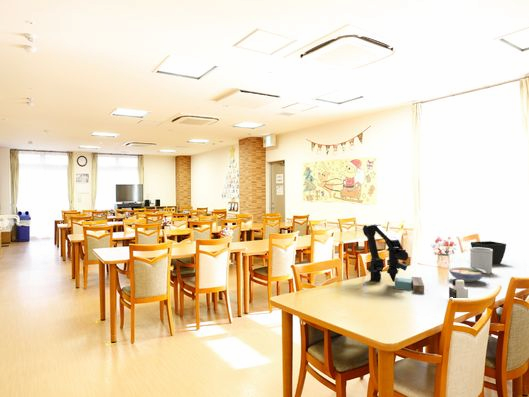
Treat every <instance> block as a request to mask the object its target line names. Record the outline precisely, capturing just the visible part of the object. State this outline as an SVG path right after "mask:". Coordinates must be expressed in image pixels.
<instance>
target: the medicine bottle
mask: <svg viewBox="0 0 529 397" xmlns="http://www.w3.org/2000/svg"><path fill="white" fill-rule="evenodd" d="M448 294H449V295H448V299H449V298H450V297H453V298H468V299H469V289H468V288H466V287H465V282H464V280H462V279H457V278H453V279H452V286H449V287H448Z"/></svg>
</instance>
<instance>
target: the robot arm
mask: <svg viewBox="0 0 529 397" xmlns="http://www.w3.org/2000/svg"><path fill="white" fill-rule="evenodd" d="M362 232H363V235H364V236H365V237H366V238H367V244H368V246H369V247H368V248H369V251H370V256H371V259H370V265H369V267H368V268H367V270H368V272H369V273H370V279H369V280H370V282H381V280H382V273H381V272H383V271H384V270H383V269H384V265H385V262H384V260H383V258H381V257H380V256H379V252H378V248H377V247H378V246H377V242H376V238H375V235H376V233H377V234H378V235H379V236H380V237H381V238H382V239H383V241H385V242H384V243H385V245H386V246H387V247H388V248H386V251H388V267H387V269H386V273H387V274H389V276H390V279H391V281H392V283H393V282H394V283H395V279H396V278H397V277H396V275H397V274H398V273H399V270H400V269H401V270H403V271H406V270H407V268H408V264H407V262H406V261H407V260H408V259H409V254H408V252H407V249H404V248H403V246H402V244H401V242H400V240H399V239H398V238H397V237H395V236H393V235H391V234H390V233H388V231H387V230H385V229H384V227H383V226H382V225H381V224H379V223H374V224H366V225H364V226H363V227H362ZM399 260H400V261H399Z"/></svg>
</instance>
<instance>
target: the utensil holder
mask: <svg viewBox="0 0 529 397" xmlns="http://www.w3.org/2000/svg"><path fill="white" fill-rule="evenodd" d="M469 252H470V254H469V255H470V256H469V257H470V262H469V263H470V266H472V267H474V268H477V269H482V270H484V271H486V273H487V275H489V274H490V275H491V274H492V273H493V272H492V270H493V264H492V252H493V250H492V249H489V248H481V247H473V248H472V247H470V248H469ZM470 266H469V267H470ZM472 267H470V268H472Z"/></svg>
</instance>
